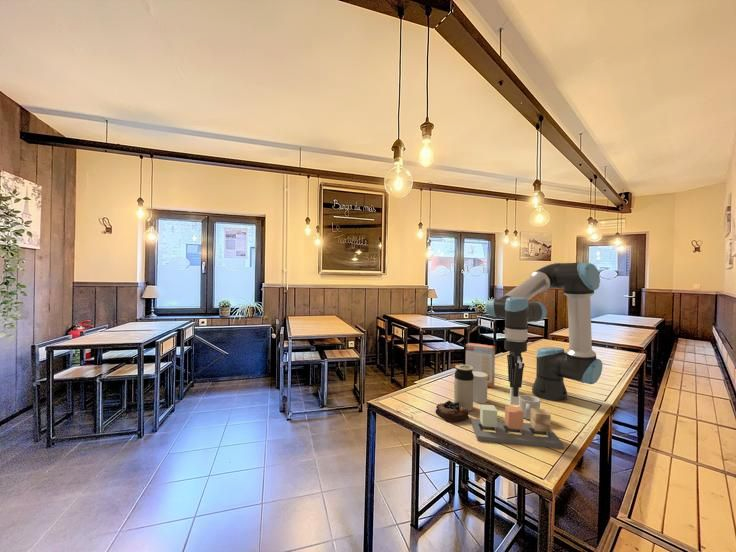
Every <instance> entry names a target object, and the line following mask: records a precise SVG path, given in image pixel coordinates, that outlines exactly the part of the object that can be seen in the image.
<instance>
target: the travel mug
mask: <svg viewBox="0 0 736 552" xmlns="http://www.w3.org/2000/svg"><path fill="white" fill-rule="evenodd" d="M454 367H455V371H454V381H453V382H454V383H453V384H454V385H453V387H454V388H453V389H454V391H453V392H454V393H453V402H458V403H459V405H460V406H462V407H464V408H466V409H468V412H469V411H472V410H473V409H474V402H473V383H474V375H473V373H472V370H473V367H472V366H469V365H466V364H455V366H454Z"/></svg>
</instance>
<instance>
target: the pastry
mask: <svg viewBox="0 0 736 552" xmlns="http://www.w3.org/2000/svg"><path fill="white" fill-rule="evenodd" d="M435 414H436V415H437V416H439V418H441V419H443V421H445V422H446V423H449V422H450V423H451V424H452V423H453V424H455V423H460V422H464V421H467V420H468V419H469V418H470V417H469V411H468V409H466V408H464V407H462V406H460V405H459V403H458V402H454V401H451V400H448V401H445V402H443V403H442V402H439V403H438V404H436V409H435ZM450 423H449V424H450Z"/></svg>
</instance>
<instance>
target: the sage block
mask: <svg viewBox="0 0 736 552" xmlns="http://www.w3.org/2000/svg"><path fill="white" fill-rule="evenodd" d="M479 404H480V405H479V419H480V422H481V424H482V426H486V427H497V421H498V410H497V407H495V405H494V404H483V403H479Z"/></svg>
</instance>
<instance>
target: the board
mask: <svg viewBox="0 0 736 552" xmlns="http://www.w3.org/2000/svg"><path fill="white" fill-rule="evenodd" d="M470 424H471V426H472V429H473V432H474V434H475V438H476V441H477V442H479V441H480V442H489V443H490V442H491V443H497V444H498V443H499V444H500V443H501V444H502V443H503V444H510V445H511V444H512V445H522V446H531V447H532V446H533V447H541V448H542V447H544V448H552V449H553V448H554V449H564V443H563V441H562V440H561V439H560V438H559V437H558V435H557V434H556V433H555V432H554V431H553V430H552V429H551V428H550V432H544V431H535V430H534V428H533V427H532V426H531V424H530V422H523V430H521V429H509V428H508V427H507V425H506V423H505V420H497V427H486V426H482V424H481V422H480V418H470ZM482 429H487V430H488V429H490V430H491V429H492V430H494V431H484V430H482ZM507 431H509V432H510V431H511V432H513V431H514V432H520V434H518V433H508V432H507ZM534 433H535V434H545V435H546V436H541V435H534Z"/></svg>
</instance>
